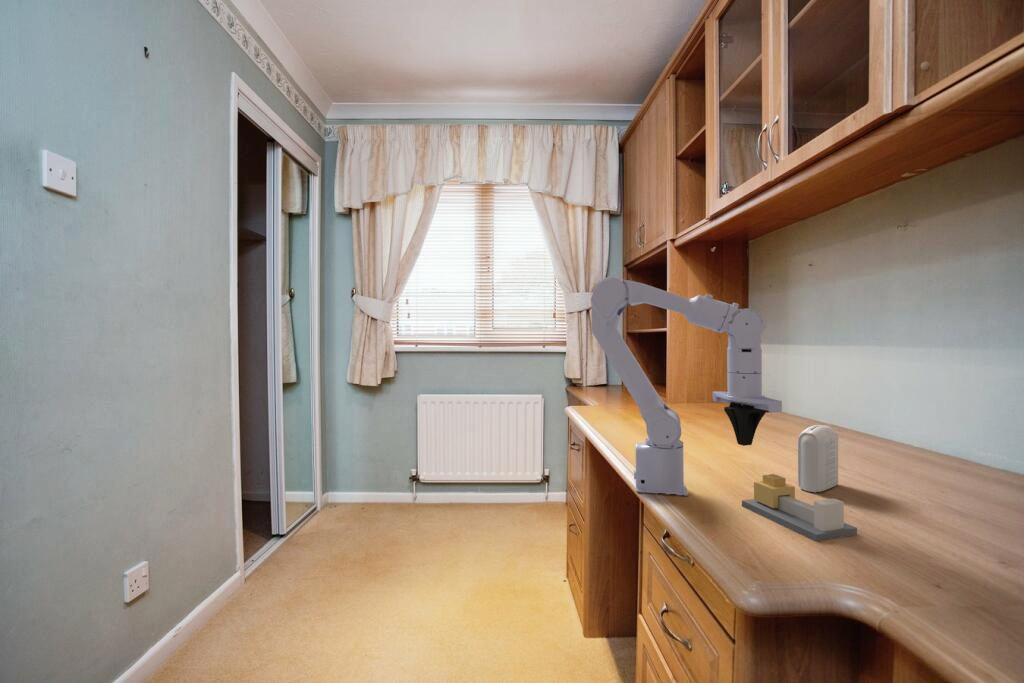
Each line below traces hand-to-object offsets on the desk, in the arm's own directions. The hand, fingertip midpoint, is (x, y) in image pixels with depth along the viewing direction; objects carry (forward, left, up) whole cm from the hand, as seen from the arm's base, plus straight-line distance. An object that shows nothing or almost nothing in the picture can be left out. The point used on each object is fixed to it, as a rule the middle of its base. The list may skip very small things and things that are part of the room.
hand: (744, 444), depth 81 cm
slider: (+3, -6, -9) cm, 11 cm away
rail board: (+5, -9, -10) cm, 14 cm away
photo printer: (+16, +9, -10) cm, 21 cm away
